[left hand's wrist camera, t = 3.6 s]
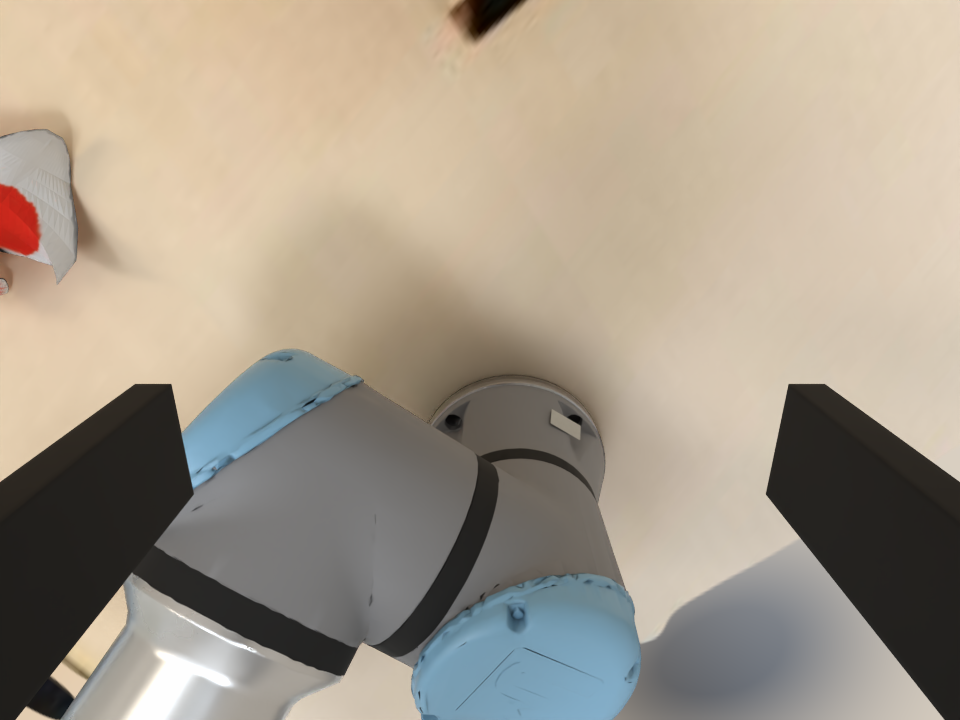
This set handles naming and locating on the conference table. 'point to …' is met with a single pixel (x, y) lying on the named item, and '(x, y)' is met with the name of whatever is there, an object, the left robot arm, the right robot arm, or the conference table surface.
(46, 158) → the fish
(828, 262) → the conference table surface
